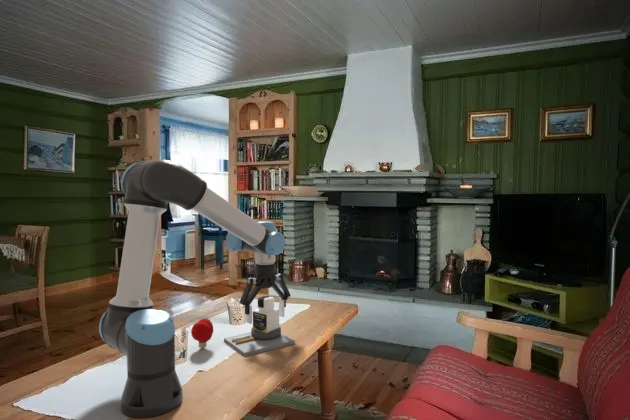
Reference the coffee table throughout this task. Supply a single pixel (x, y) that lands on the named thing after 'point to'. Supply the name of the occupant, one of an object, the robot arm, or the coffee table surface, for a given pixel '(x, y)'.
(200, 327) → the red toy tree
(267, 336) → the stub
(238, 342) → the board
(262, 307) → the medicine bottle
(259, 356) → the coffee table surface
